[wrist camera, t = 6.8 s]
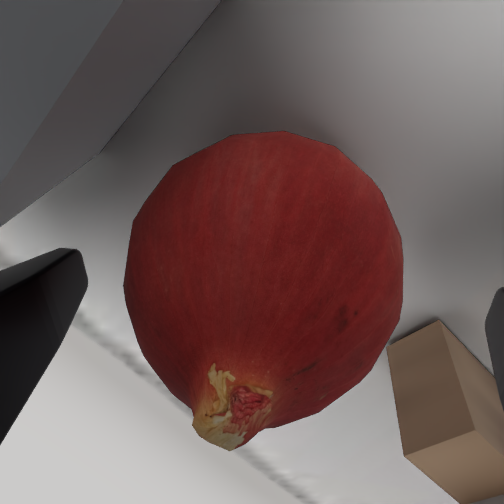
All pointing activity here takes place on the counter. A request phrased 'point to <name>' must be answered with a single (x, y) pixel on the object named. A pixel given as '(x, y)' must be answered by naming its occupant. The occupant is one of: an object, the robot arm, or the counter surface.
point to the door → (449, 414)
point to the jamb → (77, 81)
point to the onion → (263, 281)
